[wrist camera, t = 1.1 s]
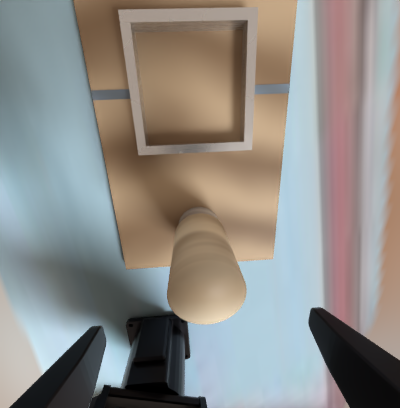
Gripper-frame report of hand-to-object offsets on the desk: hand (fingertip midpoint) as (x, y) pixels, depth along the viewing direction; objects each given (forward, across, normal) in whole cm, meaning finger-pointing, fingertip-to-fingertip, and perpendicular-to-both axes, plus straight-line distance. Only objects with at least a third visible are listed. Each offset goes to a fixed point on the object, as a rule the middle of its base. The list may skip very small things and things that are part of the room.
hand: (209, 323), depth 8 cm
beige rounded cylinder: (+10, 0, 0) cm, 10 cm away
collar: (+10, 0, -11) cm, 15 cm away
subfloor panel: (+10, 0, -6) cm, 12 cm away
